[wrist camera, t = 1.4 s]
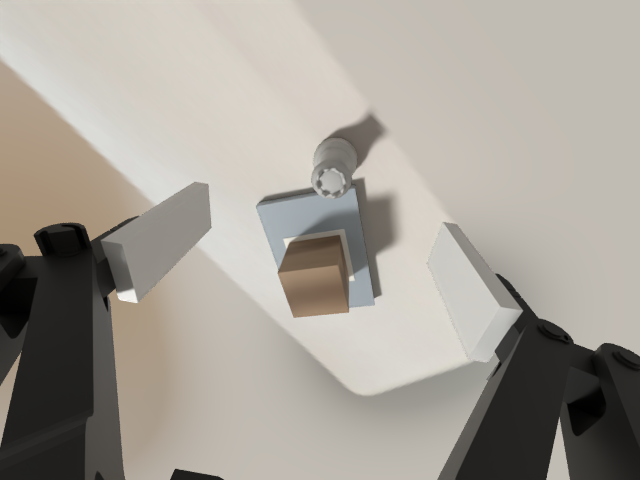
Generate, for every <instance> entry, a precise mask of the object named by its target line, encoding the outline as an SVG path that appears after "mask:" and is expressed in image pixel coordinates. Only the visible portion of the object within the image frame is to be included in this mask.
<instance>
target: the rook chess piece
mask: <svg viewBox="0 0 640 480" xmlns="http://www.w3.org/2000/svg"><path fill="white" fill-rule="evenodd" d="M357 160H358V159H357V154H356V150H355V149H354V147H353V146H352V145H351V143H349V142H348V141H346V140H344V139H343V138H335V137H333V138H330V139H327V140H324V141H323V142H322V143H321V144H320V145H318V147H317V149H316V151H315V153H314V160H313V165H314V171H313V172H312V178H311V182H312V185H313V188H314V190H315V191H316V192H317V193H318V195H320V196H322V197H324V198H327V199H336V198H340V197H342V196H343V195H344V194H346V193H347V191H348V190H349V188H350V187H351V182H352V177H351V176H352V175H353V173H354V172H355V170H356V165H357Z"/></svg>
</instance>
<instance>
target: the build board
mask: <svg viewBox="0 0 640 480" xmlns="http://www.w3.org/2000/svg"><path fill="white" fill-rule="evenodd" d="M256 209H257V211H258V214H259V217H260V220H261V223H262V225H263V228H264V231H265V234H266V237H267V239H268V242H269V245H270V248H271V250H272V253H273V256H274V259H275V262H276V264H277V267H278V270H279V268H280V265H281V263H282V260H283V258H284V255H285V253H286V250H287V247H288V245H289V242H296V241H302V240H309V239H315V238H322V237H328V236H335V235H340V237H341V242H342V246H343V251H344V256H345V260H346V265H347V270H348V274H349V308H351V307H361V306H371V305H375V303H374V296H373V290H372V284H371V278H370V272H369V266H368V260H367V254H366V248H365V242H364V236H363V230H362V225H361V219H360V213H359V207H358V201H357V195H356V189H355V185H351V187H350V188H349V190H348V191H347V193H346V194H344V195H343V196H342V197H340V198H336V199H327V198H324V197H322V196H320V195H318V193H317V192H313V193H307V194H302V195H297V196H291V197H286V198H280V199H275V200H270V201H264V202H259V203H258V204H257V206H256Z"/></svg>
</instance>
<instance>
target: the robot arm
mask: <svg viewBox="0 0 640 480" xmlns="http://www.w3.org/2000/svg"><path fill="white" fill-rule="evenodd" d="M210 229H211V215H210V201H209V188H208V184H205V183H198V182H194V183H192V184H191V185H189V186H187V187H186V188H184V189H183V190H181V191H179V192H178V193H176V194H174V195H173V196H171V197H170V198H168V199H166V200H165V201H163V202H162V203H160V204H158V205H157V206H155V207H154V208H152V209H150V210H149V211H147V212H145V213H144V214H142V215H141V216H136V217H133V218H131V219H127V220H125V221H124V222H122V223H120V224H119V225H118V226H115V227H113V228H112V229H110V231H107V232H105V233H103V234H102V235H100V236H99V237H97V238H95V239H94V240H92V241H90V240H89V237H88V234H87V231H86V228H85V227H84V225H81V224H79V223H60V224H55V225H51V226H48V227H44V228H42V229H40V230H38V231H37V232H36V233H35V234H34V237H35V240H36V242H37V244H38V246H39V249H40V251H41V253H42V255H43V256H24V255H23V254H22V251H21V249H20V248H19V247H18V246H17V245H13V244H0V385H1V383H2V382H3V380H4V379H5V377H6V375H7V374H8V372H9V371H10V369H11V367H12V365H13V364H14V362H15V361H16V359H17V357H18V356H19V354H20V352H21V351H22V352H21V357H20V361H19V366H18V370H17V374H16V379H15V383H14V388H13V392H12V397H11V401H10V406H9V410H8V415H7V419H6V424H5V428H4V433H3V438H2V442H1V446H0V480H125V476H124V470H123V460H122V447H121V434H120V421H119V409H118V396H117V383H116V370H115V358H114V345H113V332H112V319H111V306H110V300H109V297H108V294H110V293H111V292H112V291H113V290H114V289H115V288H116V291H117V294H118V298H119V300H123V301H129V302H135V303H138V302H140V300H141V299H142V298H143V297H144V296H145V295H146V294H147V293H148V292H149V291H150V290H151V289H152V288H153V287H154V286H155V285H156V284H157V283H158V282H159V281H160V280H161V279H162V278H163V277H164V276H165V275H166V274H167V273H168V272H169V271H170V270H171V269H172V268H173V266H175V265H176V263H177V262H178V261H179V260H180V259H181V258H182V257H183V256H184V255H185V254H186V253H187V252H188V251H189V250H190V249H191V248H192V247H193V246H194V245H195V244H196V243H197V242H198V241H199V240H200V239H201V238H202V237H203V236H204V235H205V234H206V233H207V232H208V231H209V230H210ZM427 265H428V268H429V270H430V272H431V275H432V277H433V279H434V281H435V284H436V286H437V288H438V291H439V293H440V295H441V298H442V300H443V302H444V305H445V307H446V309H447V312H448V314H449V316H450V319H451V321H452V323H453V326H454V328H455V330H456V333H457V335H458V337H459V340H460V342H461V344H462V347H463V349H464V351H465V354H466V356H467V358H468V359H470V360H475V361H482V362H488V361H489V360H490V358H491V357H492V355H493V354H494V352H495V353H496V355H497V357H498V358H499V360H500V362H499V363H498V364H497V366H496V367H495V369H494V370H493V371H492V373H491V374H490V376H489V377H488V378H487V380H488V383H487V385H486V386H485V388H484V390H483V392H482V394H481V396H480V398H479V400H478V402H477V404H476V406H475V408H474V410H473V412H472V414H471V415H470V417H469V419H468V421H467V423H466V425H465V427H464V429H463V431H462V433H461V435H460V437H459V439H458V441H457V443H456V444H455V447H454V448H453V450H452V452H451V454H450V456H449V458H448V460H447V462H446V464H445V466H444V468H443V470H442V471H441V473H440V475H439V478H438V480H546V478H547V473H548V468H549V463H550V458H551V453H552V449H553V444H554V439H555V435H556V429H557V425H558V420H559V416H560V422H561V428H562V434H563V440H564V446H565V452H566V458H567V464H568V469H569V476H570V480H640V356H638V355H637V354H634V352H632V351H630V350H627V349H625V348H623V347H621V346H617V345H615V344H611V343H604V344H602V345H601V346H600V347H599V348H598V349H597V350H596V351H593V350H590V349H587V348H585V347H581V346H579V345H576V344H574V342H573V340H572V338H571V337H570V336H569V334H568V333H566V332H565V331H564V330H563V329H562V328H560V327H558V326H557V325H555V324H553V323H551V322H549V321H546V320H543V319H539V318H538V317H537V316H536V315H535V313H534V312H533V311H532V310H531V309H530V307H529V306H528V305H527V303H526V302H525V301H524V300H523V298H521V296H520V295H519V293H518V292H516V290H515V289H514V287H513V286H512V285H511V284H510V283H509V282H508V281H507V280H506V279H504V278H503V277H502V276H501V275H499V274H495V273H494V272H493V271H492V269H491V268H490V267H489V265H488V264H487V263H486V262H485V260H484V259H483V258H482V256H481V255H480V254H479V253H478V251H477V250H476V249H475V247H474V246H473V245H472V243H471V242H470V241H469V239H468V238H467V237H466V235H465V234H464V233H463V232H462V230H461V229H460V228H459V226H458V225H457V224H452V223H446V222H443V223H442V226H441V228H440V231H439V233H438V236H437V238H436V241H435V243H434V246H433V248H432V251H431V253H430V256H429V258H428V261H427ZM170 480H224V479H222V478H220V477H218V476H212V475H207V474H201V473H195V472H190V471H184V470H179V469H175V470H174V472H173V475H172V477H171V479H170Z"/></svg>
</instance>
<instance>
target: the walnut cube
mask: <svg viewBox="0 0 640 480" xmlns="http://www.w3.org/2000/svg"><path fill="white" fill-rule="evenodd" d="M278 275H279V278H280V281H281V284H282V287H283V289H284V292H285V295H286V298H287V300H288V303H289V306H290V309H291V311H292V314H293V317H294V318H296V317H306V316H316V315H327V314H337V313H347V312H349V274H348V270H347V265H346V260H345V256H344V251H343V246H342V242H341V237H340V235H335V236H328V237H322V238H315V239H309V240H302V241H296V242H289V245H288V247H287V250H286V253H285V255H284V258H283V260H282V263H281V265H280V268H279V271H278Z"/></svg>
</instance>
